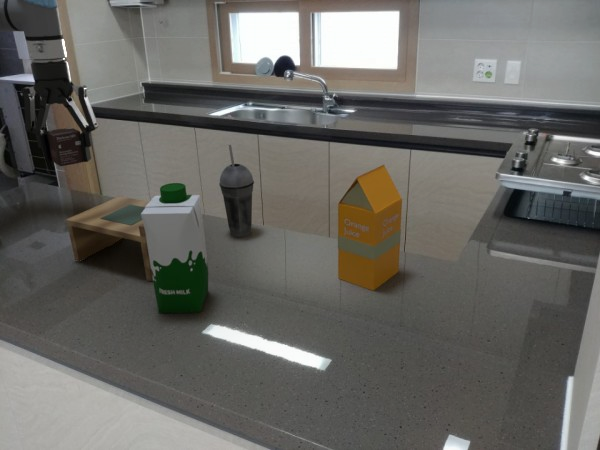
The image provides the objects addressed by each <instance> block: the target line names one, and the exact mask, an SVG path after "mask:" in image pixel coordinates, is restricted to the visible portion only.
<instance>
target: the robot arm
mask: <svg viewBox="0 0 600 450" xmlns="http://www.w3.org/2000/svg"><path fill="white" fill-rule="evenodd" d="M1 32H2V33H3V32H5V33H6V32H8V33H9V32H23V36H24V39H25V44H26V48H27V53H28V58H29V59H30V61H32V62H31V63H30V68H31V73H32V78H33V80H34V83H33V86H26V87H23V88H21V90H20V92H21V95H22V97H23V100H24V126H25V127H24V128H25V132H26V133H28V134H29V133H31V134H34V135H35V138H36V142H37V147H38V149H42V152H43V157H44V162H45V164H50V163H51V162H53V161H52V159H51V154H50V149H49V144H48V140H47V134H46V130H45V127H46V123H47V120H48V116H49V112H50V108H51V105H54V104H57V105H63V106H64V108H66V110H67V111H68V113H69V114H70V115H71V117H72V119H73V120H74V122H75V123H76V125H77V126H78V128H79V130H80V134H79V136H80V141H81V147H82V152H83V157H84V162H83V163H88V162H89V161H91V160H92V154H91V149H90V148H91V147H92V146H93V138H92V132H94V131H95V130H97V129H98V128H99V124H98V121H97V119H96V115H95V113H94V111H93V107H92V104H91V102H90V100H89V99H90V98H89V96H88V86H86V85H85V84H84V85H76V84H74V83H73V82H72V78H71V77H72V76H71V72H70V66H69V62H68V60H67V59H66V58H67V57H68V55H67V49H66V44H65V39H64V34H63V31H62V23H61V18H60V10H59V3H58V1H57V0H0V33H1ZM74 92H75V95H76V96H77V97H78V101H79V103H80V106H81V109H82V112H83V114H82V112H81V111H80V109H79V108H78V106H77V105H76V102H75V100H74V99H73V96H72V95H73V93H74ZM36 94H37V95H38V96H39V97H40V103H39V110H38V114H37V119H36V103H35V102H36V101H35V96H36ZM83 115H84V116H83Z"/></svg>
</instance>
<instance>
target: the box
mask: <svg viewBox="0 0 600 450" xmlns="http://www.w3.org/2000/svg"><path fill="white" fill-rule="evenodd" d="M45 133H46V134H47V140H48V144H49V149H50V154H51V159H52V161H51V162H52V163H54V164H55V165H57V166H58V167H66V166H72V165H76V164H81V163H85V162H84V157H83V152H82V147H81V141H80V136H79V134H81V130H79V129H76V128H74V127H66V128H58V129H52V130H51V129H50V130H45Z"/></svg>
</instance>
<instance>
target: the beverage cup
mask: <svg viewBox="0 0 600 450" xmlns="http://www.w3.org/2000/svg"><path fill="white" fill-rule="evenodd" d="M228 150H229V157H230V164H229V165H227V166H226V167H225V168H224V169H223V170H222V171H221V174H220V177H219V183H218V184H219V187H220V191H221V194H222V197H223V203H224V208H225V214H226V219H227V225H228V229H229V234H230V236H231V237H234V238H246V237H248V236H250V235H251V233H252V225H253V224H252V221H253V217H252V215H253V191H254V183H255V181H254V177H253V175H252V172H251V171H250V169H249V168H248V167H247V166H245V165H243V164H241V163H235V161H234V154H233V148H232V144H229V145H228Z"/></svg>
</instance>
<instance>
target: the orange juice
mask: <svg viewBox="0 0 600 450" xmlns="http://www.w3.org/2000/svg"><path fill="white" fill-rule="evenodd" d="M402 209H403V198H402V196H401V194H400V192H399V190H398V189H397V187H396V185H395V183H394V181H393V179H392V177H391V175H390V173H389V171H388V170H387V168H386V166H385V164H382V165H380V166H377V167H376V168H374V169H371V170H369V171H367V172H365V173H362V174H361V175H358V176H356V178H355V179H354V180H353V182H352V183H351V185H350V186H349V188H348V189H347V191H346V192H345V193H344V194H343V196H342V197H341V199H340V200H339V201H338V203H337V231H338V232H337V255H338V256H337V275H338V276H337V278H338V279H339V280H342V281H345V282H347V283H350V284H353V285H356V286H359V287H362V288H364V289H366V290H370V291H373V292H374V291H375V290H376V289H378V288H379V287H380V286H381V285H383V284H385V282H387V281H388V280H390V279H392V277H393V276H395V275H396V274H397V273H399V272H400V271H399V269H400V251H401V250H400V249H401V234H402V232H401V231H402V229H401V227H402Z"/></svg>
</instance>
